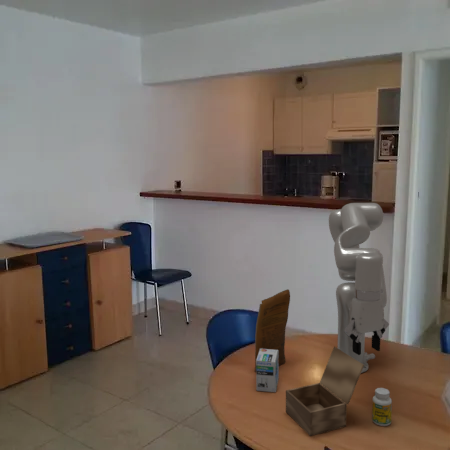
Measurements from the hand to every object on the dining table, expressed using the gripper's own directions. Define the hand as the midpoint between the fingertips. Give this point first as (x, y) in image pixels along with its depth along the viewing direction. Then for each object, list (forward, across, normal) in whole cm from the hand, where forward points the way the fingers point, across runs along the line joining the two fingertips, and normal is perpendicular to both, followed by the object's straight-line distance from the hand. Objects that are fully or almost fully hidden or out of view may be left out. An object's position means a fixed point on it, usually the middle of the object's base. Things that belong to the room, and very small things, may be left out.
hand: (366, 350), depth 149 cm
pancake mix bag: (+18, +13, -37) cm, 43 cm away
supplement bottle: (+18, +1, +9) cm, 21 cm away
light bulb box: (+18, +21, -25) cm, 37 cm away
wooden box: (+18, +18, 0) cm, 26 cm away
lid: (+6, +9, 0) cm, 11 cm away
